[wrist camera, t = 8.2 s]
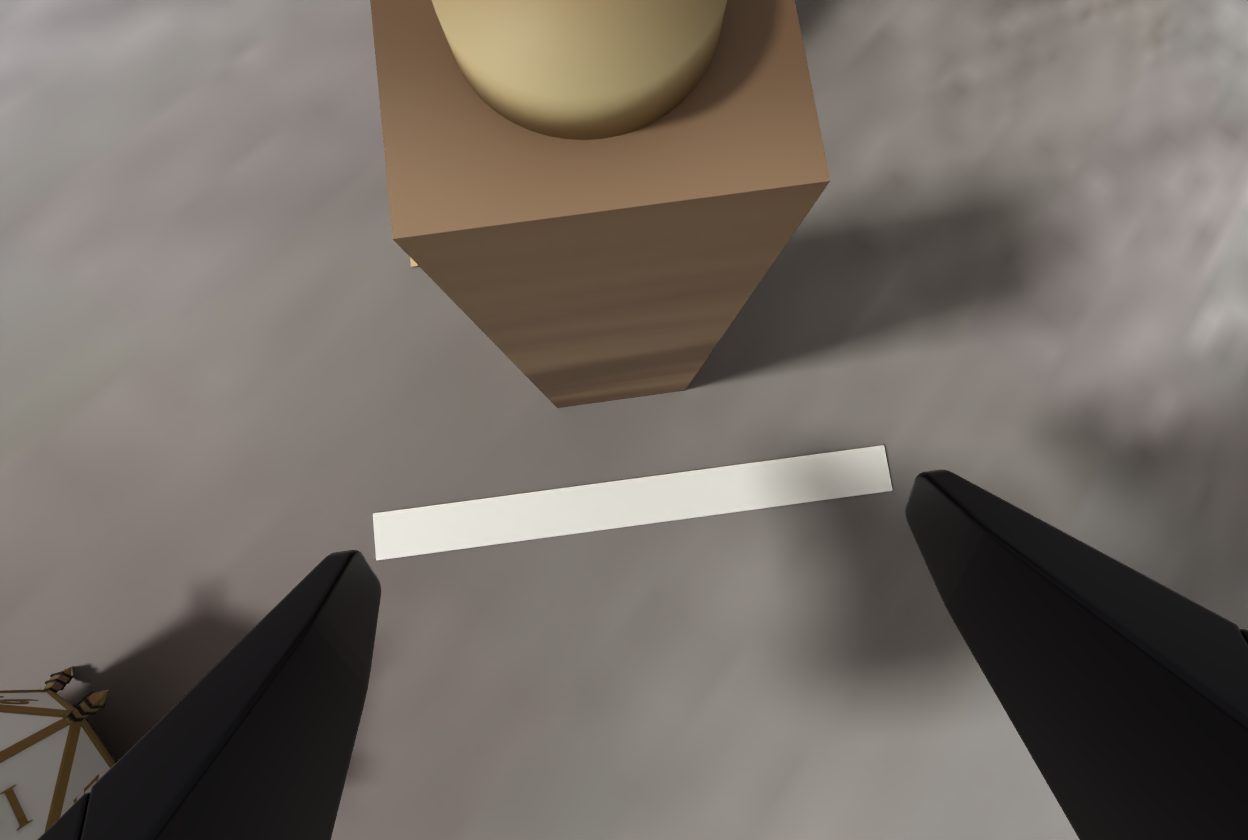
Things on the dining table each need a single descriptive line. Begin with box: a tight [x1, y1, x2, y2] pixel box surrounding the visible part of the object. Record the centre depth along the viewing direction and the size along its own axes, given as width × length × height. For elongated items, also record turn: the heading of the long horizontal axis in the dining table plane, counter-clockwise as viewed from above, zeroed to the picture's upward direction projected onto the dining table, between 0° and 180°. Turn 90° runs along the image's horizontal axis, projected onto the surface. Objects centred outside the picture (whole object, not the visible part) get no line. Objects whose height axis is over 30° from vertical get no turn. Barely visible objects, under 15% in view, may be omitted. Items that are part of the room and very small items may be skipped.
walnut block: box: [370, 0, 830, 408], centre depth 12 cm, size 5×5×14 cm
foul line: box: [373, 445, 893, 560], centre depth 18 cm, size 18×2×1 cm, turn 98°
